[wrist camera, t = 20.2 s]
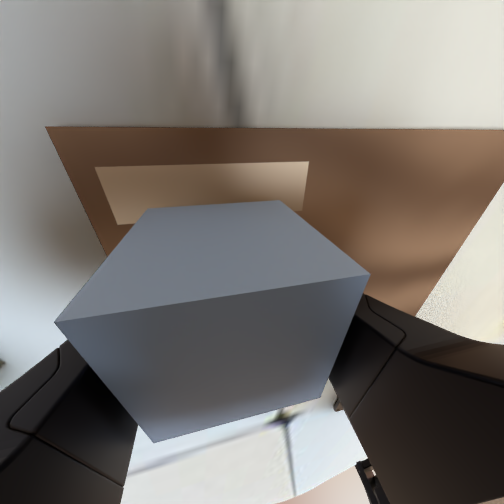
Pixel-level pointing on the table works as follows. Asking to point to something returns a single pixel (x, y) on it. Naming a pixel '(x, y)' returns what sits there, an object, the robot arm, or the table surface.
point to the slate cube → (215, 314)
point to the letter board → (303, 187)
